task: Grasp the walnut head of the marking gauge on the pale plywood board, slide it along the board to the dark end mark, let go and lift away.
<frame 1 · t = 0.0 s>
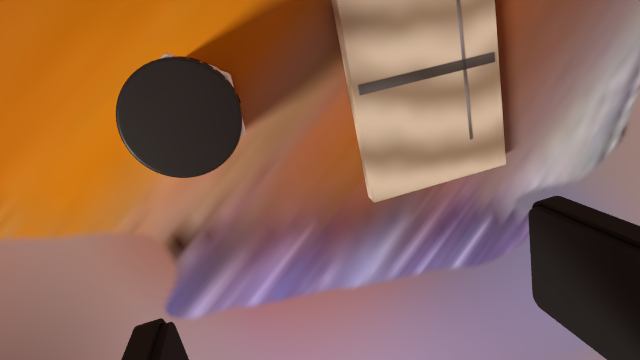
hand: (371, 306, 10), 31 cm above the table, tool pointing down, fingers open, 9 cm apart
jar: (197, 105, 37), on the table
board: (411, 13, 39), on the table
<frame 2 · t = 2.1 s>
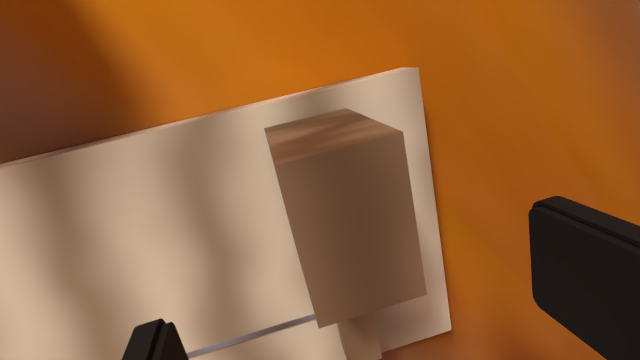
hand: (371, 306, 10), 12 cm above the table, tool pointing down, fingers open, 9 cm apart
board: (117, 288, 21), on the table
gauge: (350, 272, 17), point 6 cm above the table, slide at 0.0 cm
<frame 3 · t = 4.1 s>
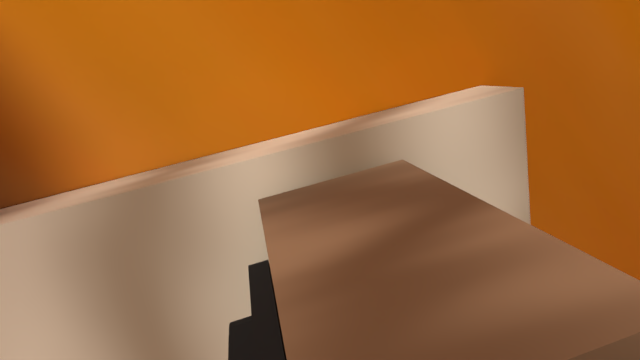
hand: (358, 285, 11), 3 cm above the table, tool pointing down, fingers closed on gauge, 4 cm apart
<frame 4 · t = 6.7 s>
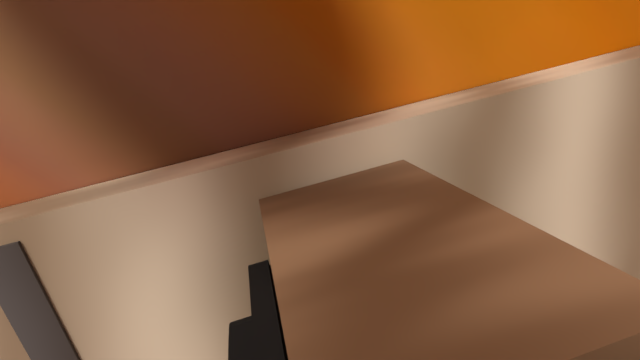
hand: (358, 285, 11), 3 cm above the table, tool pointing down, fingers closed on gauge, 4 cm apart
board: (299, 355, 14), on the table
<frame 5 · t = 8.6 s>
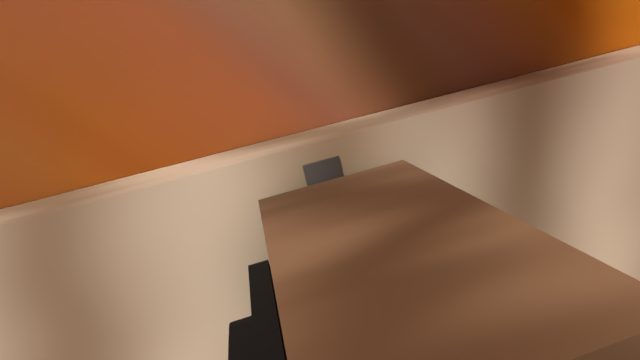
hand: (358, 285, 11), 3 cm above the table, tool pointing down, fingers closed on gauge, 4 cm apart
board: (494, 289, 15), on the table
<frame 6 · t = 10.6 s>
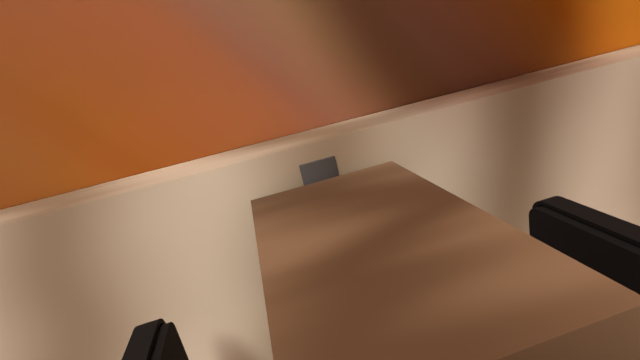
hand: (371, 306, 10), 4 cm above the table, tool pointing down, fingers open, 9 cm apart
board: (487, 286, 15), on the table
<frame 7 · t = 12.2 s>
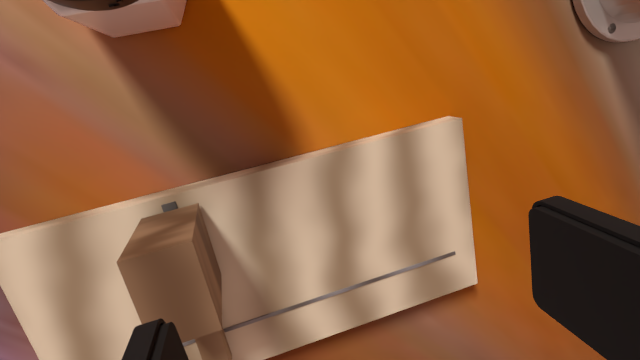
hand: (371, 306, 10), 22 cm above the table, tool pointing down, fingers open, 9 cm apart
board: (271, 257, 33), on the table
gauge: (194, 314, 26), point 6 cm above the table, slide at 18.0 cm
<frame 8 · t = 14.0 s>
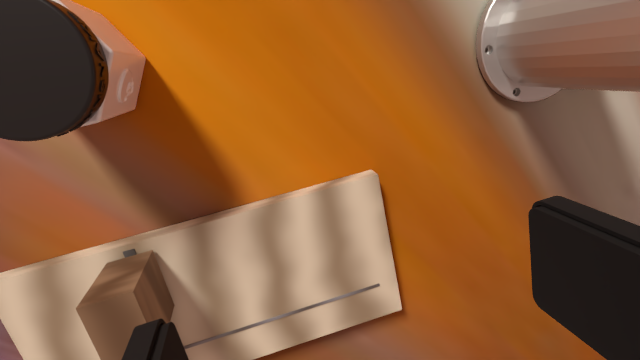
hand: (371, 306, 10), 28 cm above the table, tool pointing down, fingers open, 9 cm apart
jar: (92, 69, 32), on the table
board: (220, 288, 39), on the table
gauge: (146, 340, 33), point 6 cm above the table, slide at 18.0 cm
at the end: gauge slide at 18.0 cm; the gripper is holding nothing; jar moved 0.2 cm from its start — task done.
